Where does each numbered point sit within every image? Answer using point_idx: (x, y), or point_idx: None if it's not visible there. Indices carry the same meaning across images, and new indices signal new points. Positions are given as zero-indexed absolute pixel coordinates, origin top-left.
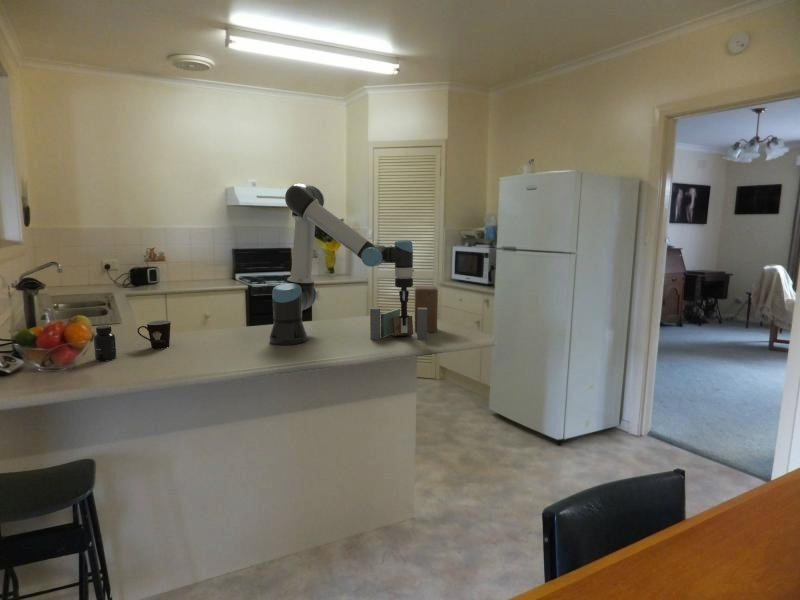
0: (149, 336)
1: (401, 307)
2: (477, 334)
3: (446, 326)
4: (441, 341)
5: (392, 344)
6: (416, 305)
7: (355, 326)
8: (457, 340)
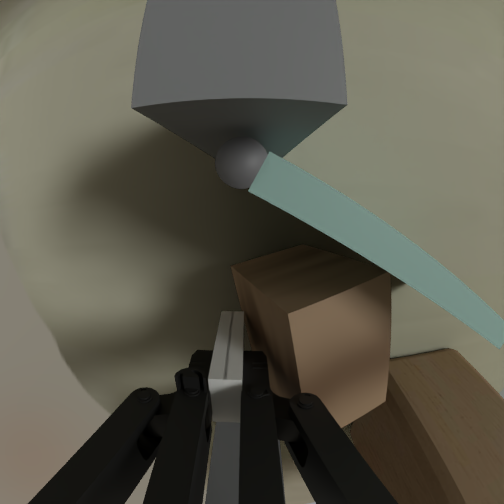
0: None
1: (74, 460)
2: (304, 498)
3: None
4: None
5: (101, 246)
6: (430, 477)
7: (488, 64)
8: None
